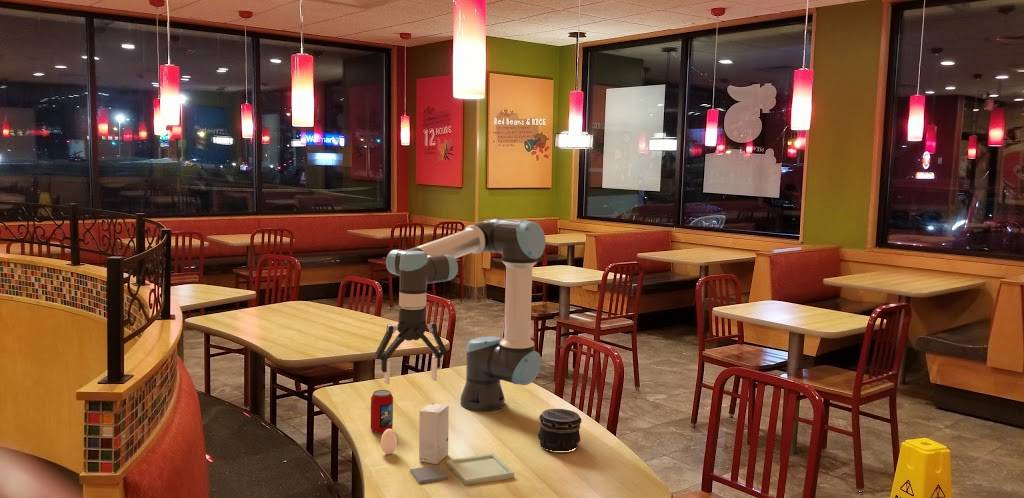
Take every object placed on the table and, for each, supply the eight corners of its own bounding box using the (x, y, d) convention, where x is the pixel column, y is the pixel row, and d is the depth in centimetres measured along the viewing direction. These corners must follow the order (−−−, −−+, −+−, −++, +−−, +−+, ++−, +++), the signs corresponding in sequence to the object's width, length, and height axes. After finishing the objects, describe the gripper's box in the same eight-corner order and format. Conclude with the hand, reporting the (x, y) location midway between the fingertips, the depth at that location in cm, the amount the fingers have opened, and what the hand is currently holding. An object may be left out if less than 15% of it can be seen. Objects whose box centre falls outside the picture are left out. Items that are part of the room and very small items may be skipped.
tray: (493, 458, 226) (493, 453, 226) (514, 477, 213) (514, 472, 213) (447, 465, 220) (447, 459, 220) (465, 485, 207) (465, 479, 207)
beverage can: (388, 435, 241) (388, 396, 239) (367, 432, 242) (367, 394, 240) (395, 427, 247) (396, 390, 246) (375, 425, 249) (375, 388, 247)
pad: (438, 467, 218) (438, 465, 218) (448, 479, 211) (448, 476, 211) (410, 471, 215) (410, 469, 214) (419, 483, 207) (419, 480, 207)
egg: (389, 458, 223) (390, 433, 222) (377, 454, 226) (377, 429, 225) (400, 453, 227) (400, 428, 226) (388, 449, 229) (388, 424, 229)
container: (584, 442, 241) (586, 410, 239) (573, 457, 229) (575, 424, 227) (544, 436, 245) (545, 405, 243) (531, 450, 233) (533, 418, 231)
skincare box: (437, 465, 220) (438, 413, 218) (417, 461, 221) (418, 410, 220) (448, 454, 228) (450, 404, 226) (429, 451, 229) (430, 401, 227)
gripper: (450, 302, 228) (448, 374, 231) (364, 306, 218) (363, 380, 221) (459, 307, 221) (457, 381, 224) (371, 311, 212) (369, 388, 214)
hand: (410, 381), depth 222 cm, fingers open, 13 cm apart
